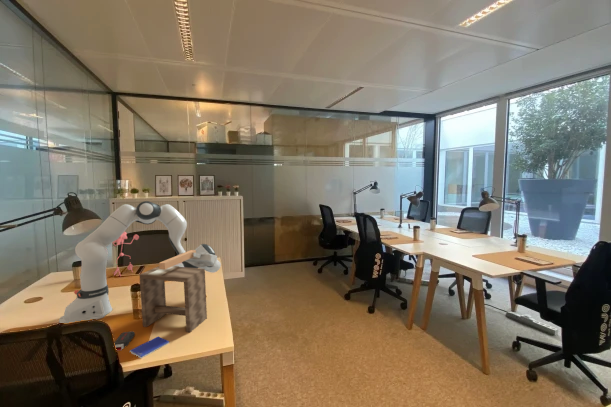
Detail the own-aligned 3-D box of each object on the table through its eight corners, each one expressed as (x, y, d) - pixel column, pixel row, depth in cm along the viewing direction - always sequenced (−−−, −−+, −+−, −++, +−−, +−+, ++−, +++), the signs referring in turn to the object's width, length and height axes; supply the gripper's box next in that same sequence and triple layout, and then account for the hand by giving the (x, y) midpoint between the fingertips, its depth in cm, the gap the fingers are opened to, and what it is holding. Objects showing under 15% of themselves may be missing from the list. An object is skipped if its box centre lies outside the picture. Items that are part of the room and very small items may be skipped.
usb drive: (134, 335, 135) (134, 329, 135) (124, 350, 124) (124, 344, 123) (122, 336, 134) (121, 331, 134) (110, 352, 123) (110, 346, 122)
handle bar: (165, 269, 135) (164, 263, 135) (159, 269, 136) (159, 262, 135) (196, 255, 158) (195, 250, 158) (191, 255, 159) (190, 250, 159)
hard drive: (140, 356, 117) (169, 341, 128) (129, 350, 122) (157, 335, 132) (141, 359, 117) (169, 344, 128) (129, 353, 122) (158, 339, 132)
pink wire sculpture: (144, 269, 231) (140, 225, 227) (109, 280, 208) (104, 231, 205) (132, 267, 238) (128, 224, 235) (97, 277, 215) (92, 229, 212)
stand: (190, 332, 136) (187, 277, 134) (142, 326, 143) (139, 273, 140) (206, 318, 150) (204, 267, 148) (163, 313, 156) (160, 264, 154)
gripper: (188, 254, 171) (173, 247, 158) (220, 256, 166) (207, 249, 153) (185, 264, 168) (170, 258, 156) (217, 267, 163) (204, 261, 151)
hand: (189, 253), depth 155 cm, fingers closed on handle bar, 3 cm apart
